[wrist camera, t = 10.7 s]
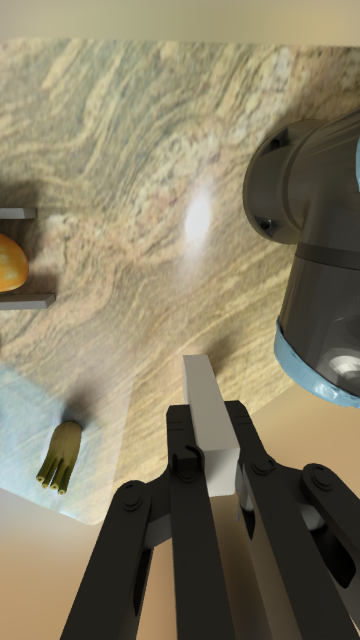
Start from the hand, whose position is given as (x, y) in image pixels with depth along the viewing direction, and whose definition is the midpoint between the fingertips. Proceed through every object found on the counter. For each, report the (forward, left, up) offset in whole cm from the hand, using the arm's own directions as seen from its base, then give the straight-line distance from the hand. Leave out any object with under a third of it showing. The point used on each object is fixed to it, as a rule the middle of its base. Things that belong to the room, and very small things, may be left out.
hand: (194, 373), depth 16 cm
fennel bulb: (+21, +31, -27) cm, 46 cm away
